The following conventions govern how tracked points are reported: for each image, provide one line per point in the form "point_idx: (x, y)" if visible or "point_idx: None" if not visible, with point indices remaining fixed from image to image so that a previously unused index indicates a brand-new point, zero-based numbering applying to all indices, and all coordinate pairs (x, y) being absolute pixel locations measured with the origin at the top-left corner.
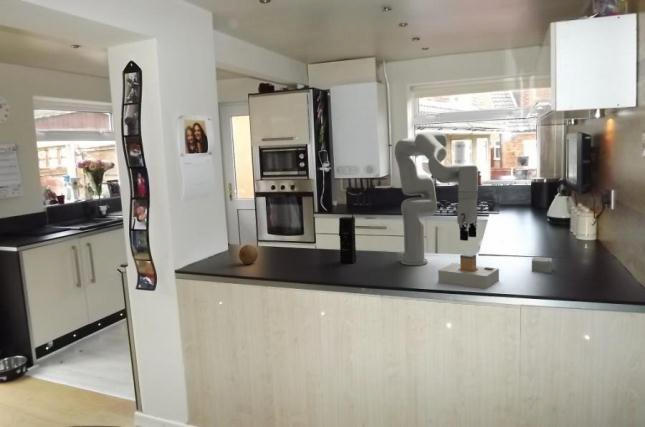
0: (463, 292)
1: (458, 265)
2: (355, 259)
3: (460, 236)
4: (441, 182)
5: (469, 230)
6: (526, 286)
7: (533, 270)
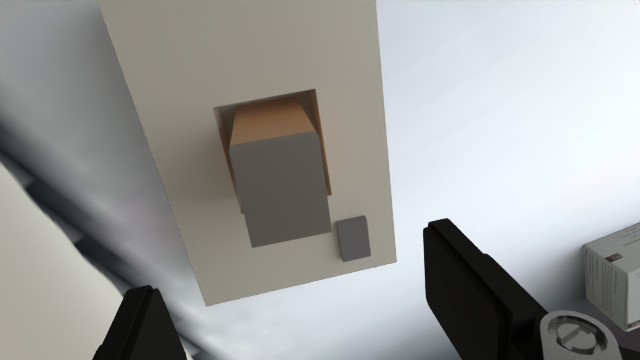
0: (73, 229)
1: (335, 34)
2: None
3: (114, 331)
4: None
5: (469, 295)
6: (353, 337)
7: (588, 253)
